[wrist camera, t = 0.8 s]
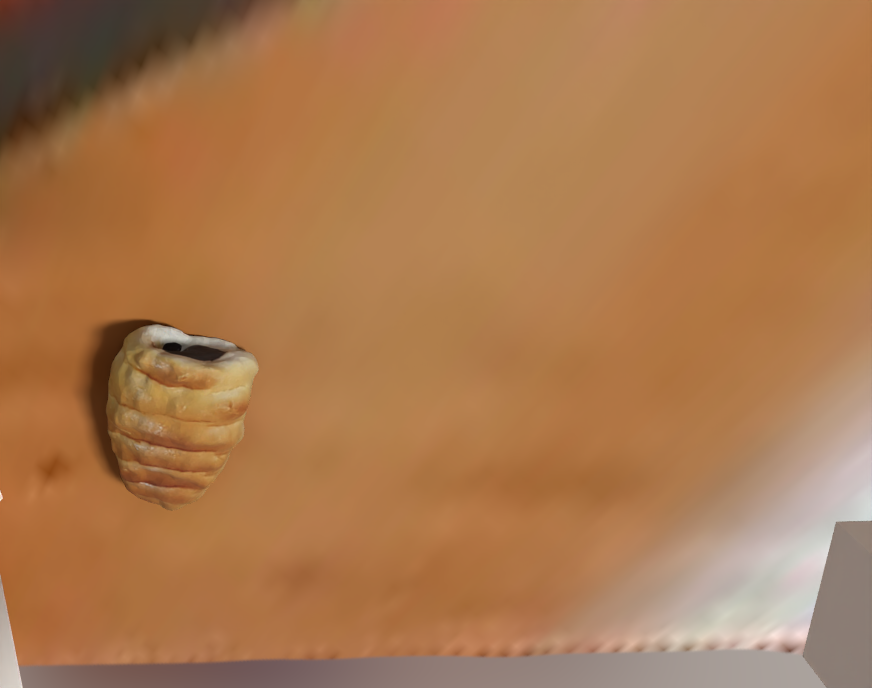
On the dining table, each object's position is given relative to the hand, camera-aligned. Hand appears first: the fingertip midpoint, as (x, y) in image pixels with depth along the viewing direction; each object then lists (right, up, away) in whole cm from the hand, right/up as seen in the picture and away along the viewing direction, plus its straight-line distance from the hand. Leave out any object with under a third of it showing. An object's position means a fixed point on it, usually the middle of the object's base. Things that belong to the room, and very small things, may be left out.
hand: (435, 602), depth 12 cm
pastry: (-13, +1, +26) cm, 29 cm away
